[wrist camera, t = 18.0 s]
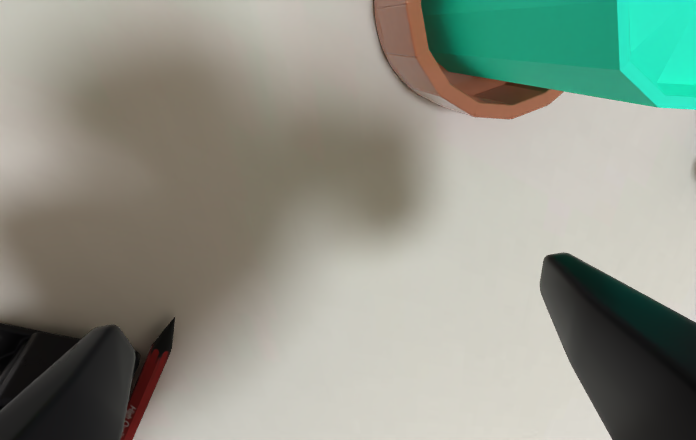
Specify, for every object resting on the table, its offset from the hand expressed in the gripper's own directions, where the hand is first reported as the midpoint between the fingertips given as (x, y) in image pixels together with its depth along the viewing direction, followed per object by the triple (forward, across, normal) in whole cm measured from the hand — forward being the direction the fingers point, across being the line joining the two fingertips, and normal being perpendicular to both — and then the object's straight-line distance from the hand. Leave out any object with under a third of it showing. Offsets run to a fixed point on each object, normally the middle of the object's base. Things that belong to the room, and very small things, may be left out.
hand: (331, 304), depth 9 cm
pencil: (+7, +13, +13) cm, 20 cm away
